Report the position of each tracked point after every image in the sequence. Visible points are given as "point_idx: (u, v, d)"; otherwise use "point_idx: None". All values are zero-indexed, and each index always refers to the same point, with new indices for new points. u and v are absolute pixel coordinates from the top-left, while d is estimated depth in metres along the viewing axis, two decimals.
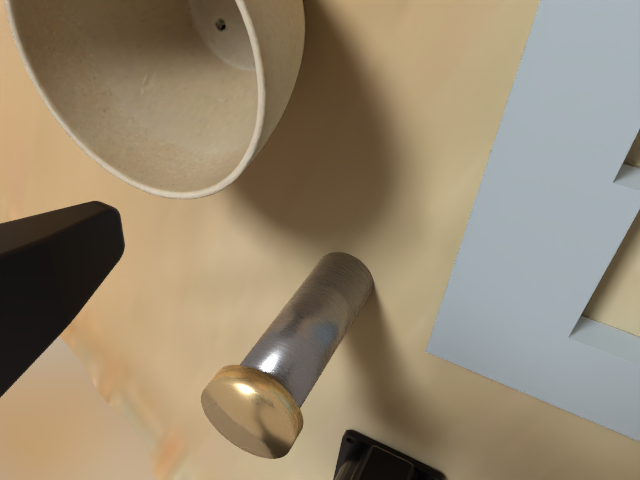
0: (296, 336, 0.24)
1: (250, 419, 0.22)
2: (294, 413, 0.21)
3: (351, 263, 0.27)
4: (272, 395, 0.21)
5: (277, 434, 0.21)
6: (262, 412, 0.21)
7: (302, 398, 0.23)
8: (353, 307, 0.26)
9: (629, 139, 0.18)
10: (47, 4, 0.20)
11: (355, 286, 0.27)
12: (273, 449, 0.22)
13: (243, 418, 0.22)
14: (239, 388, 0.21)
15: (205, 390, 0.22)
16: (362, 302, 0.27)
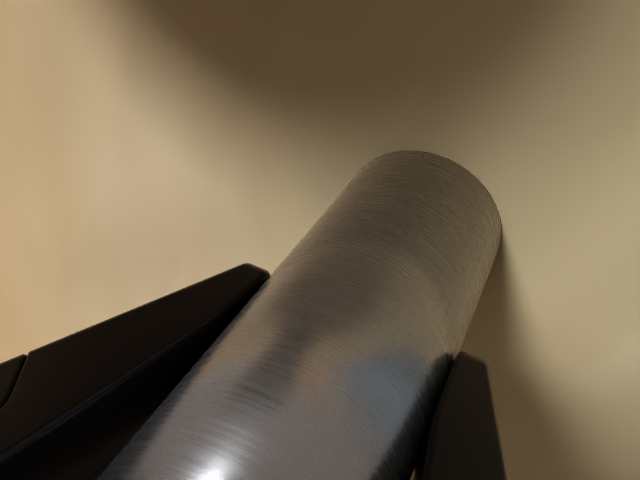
0: (284, 421, 0.06)
1: None
2: None
3: (449, 175, 0.09)
4: None
5: None
6: None
7: None
8: (466, 303, 0.08)
9: None
10: None
11: (469, 240, 0.09)
12: None
13: None
14: None
15: None
16: (482, 289, 0.09)
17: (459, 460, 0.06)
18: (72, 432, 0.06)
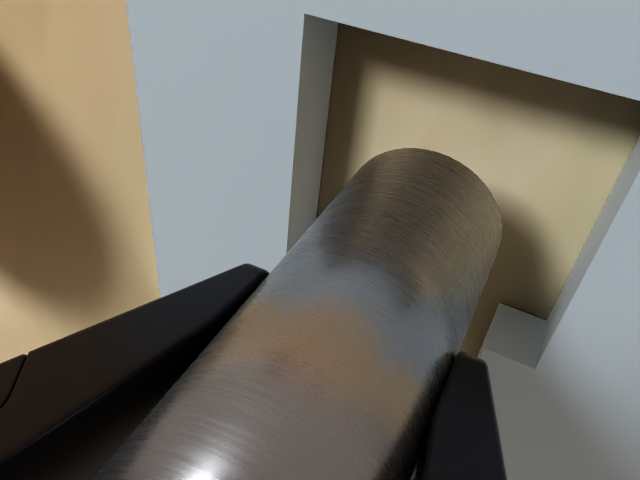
0: (282, 420, 0.05)
1: None
2: None
3: (449, 172, 0.09)
4: None
5: None
6: None
7: None
8: (467, 301, 0.08)
9: (284, 213, 0.13)
10: None
11: (470, 238, 0.09)
12: None
13: None
14: None
15: None
16: (483, 287, 0.09)
17: (459, 461, 0.06)
18: (72, 432, 0.06)
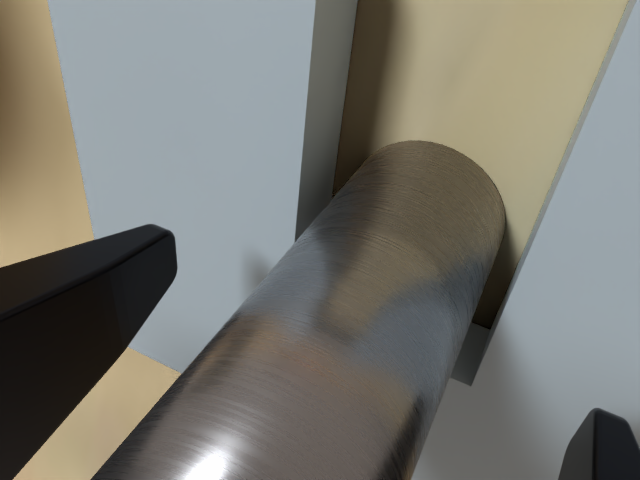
0: (294, 401, 0.06)
1: None
2: None
3: (454, 164, 0.10)
4: None
5: None
6: None
7: None
8: (472, 289, 0.08)
9: None
10: None
11: (474, 227, 0.09)
12: None
13: None
14: None
15: None
16: (487, 277, 0.09)
17: None
18: None
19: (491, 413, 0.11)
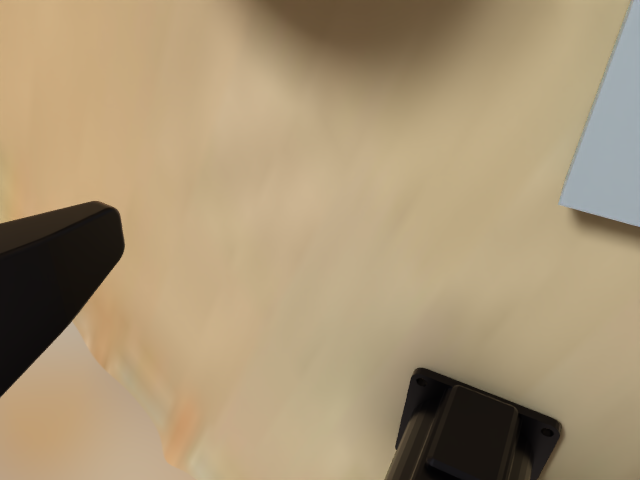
0: None
1: None
2: None
3: None
4: None
5: None
6: None
7: None
8: None
9: None
10: None
11: None
12: None
13: None
14: None
15: None
16: None
17: None
18: None
19: None
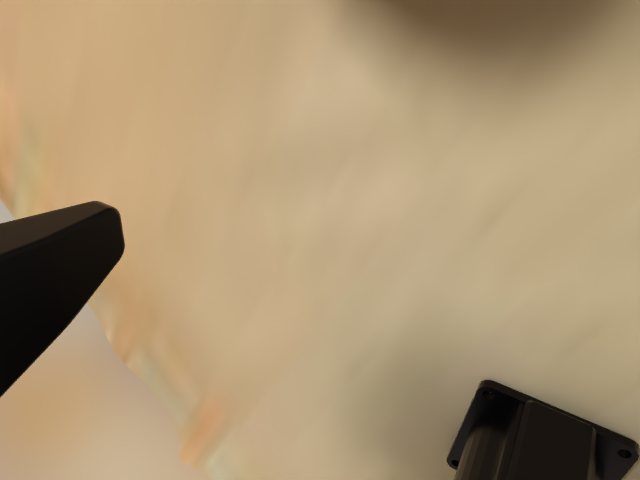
0: None
1: None
2: None
3: None
4: None
5: None
6: None
7: None
8: None
9: None
10: None
11: None
12: None
13: None
14: None
15: None
16: None
17: None
18: None
19: None
